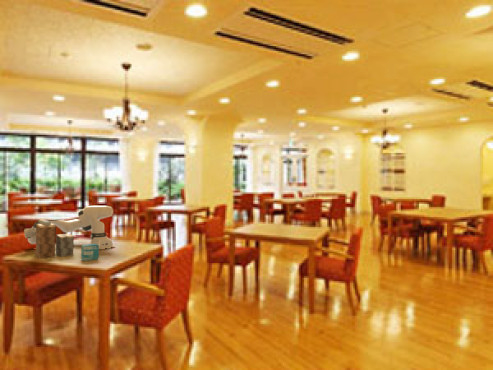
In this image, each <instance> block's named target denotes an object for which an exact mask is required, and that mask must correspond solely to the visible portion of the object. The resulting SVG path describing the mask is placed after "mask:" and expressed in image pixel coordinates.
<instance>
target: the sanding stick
mask: <svg viewBox="0 0 493 370" xmlns="http://www.w3.org/2000/svg"><path fill="white" fill-rule="evenodd" d="M47 220H48V219H45V218H44V219H43V218H42V219H38V221H39V223H41V224H43V225H51V222H50V221H47Z"/></svg>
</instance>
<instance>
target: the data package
mask: <svg viewBox="0 0 493 370" xmlns="http://www.w3.org/2000/svg"><path fill="white" fill-rule="evenodd" d="M99 250H100V249H99V245H97V244H90V243H89V244H82V245H81V251H80V253H81V254H80V257H81V258H80V259H81V260H82V261H84V262H87V261H96V260H98V259H99V256H100V254H99V252H100V251H99Z"/></svg>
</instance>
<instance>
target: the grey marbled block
mask: <svg viewBox="0 0 493 370" xmlns="http://www.w3.org/2000/svg"><path fill="white" fill-rule="evenodd" d="M74 238H75V237H74V235H73V234H71V233H63V234H62V233H61V234H55V255H57V256H59V257H66V256H74V246H75V245H74Z"/></svg>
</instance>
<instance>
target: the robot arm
mask: <svg viewBox="0 0 493 370" xmlns="http://www.w3.org/2000/svg"><path fill="white" fill-rule="evenodd" d="M113 214H114V209H113V207H112V206H109V205H88V206H84V208H83V209H81V210H80V211H78V213H77V215H78V219H70V220H65V219H64V220H63V219H62V218H57V219H46V220H47V221H50V222H51V223H52V224H55V225H56V227H57V228H58V229H60V230H61V232H63V233H65V234H69V233H73V232H75V231H76V230H80V229H81V230H83V231H84V232H90V243H89V244H97V245H99V250H104V249H105V248H107V249H111V247H114V248H116V245H115V244H113V240H112V239H111V238H110V237H108V236H109V233H108V232H105V224H104V222H103V221H100V220H103V219H106V218H109V217H112V216H113ZM36 224H41V223H39V220H37V221H35V222H34V224H33V225H32V227H31V228H30V227H29V228H24V230H23V232H24V233H23V235H24V238H25V239H27V241H28V243H29V244H31V245H36Z"/></svg>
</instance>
